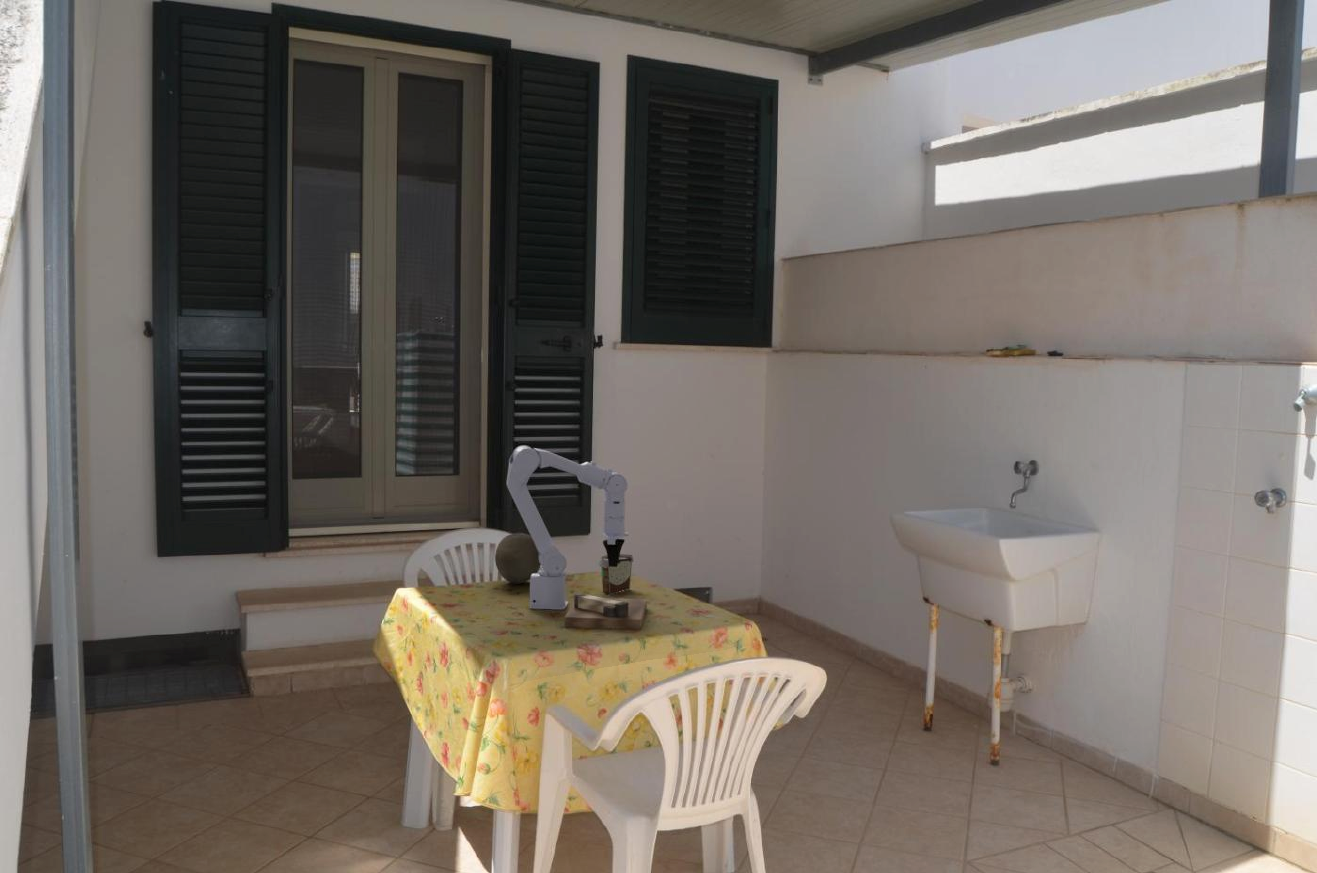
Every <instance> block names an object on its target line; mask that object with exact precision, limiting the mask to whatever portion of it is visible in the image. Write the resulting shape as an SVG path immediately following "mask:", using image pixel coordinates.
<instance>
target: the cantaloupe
mask: <svg viewBox="0 0 1317 873" xmlns="http://www.w3.org/2000/svg"><path fill="white" fill-rule="evenodd" d="M494 562H495V566H496V569H497V571H498V573H499V574H500V576H501V577H502V578H503V579H504V580H505V581H507V582H508V583H511V584H516V585H517V584H523V583H526V582H529V581H530V579H531V575H532V574H533V573H539V571H540V569H541V567H542V565H541V564H540V562H539V553H538V550H537V548H536V545H535V543H534V541H533V539H532V537H531V535H530V534H528V533H523V532H515V533H511V534H508V535H506V536H505V537H503V538H502V539H501V540H500V541H499V543H498V545H497V546H496V550H495V555H494Z"/></svg>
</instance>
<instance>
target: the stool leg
mask: <svg viewBox="0 0 1317 873" xmlns="http://www.w3.org/2000/svg"><path fill="white" fill-rule="evenodd" d="M573 596H574V598H573V602H574V607H577V608H582V609H586V610H591V611H595V612H599V613H603V606H610V607H615V608H616V611H615V617H619V618H620V617H624V616H628V603H627V602H620V601H615V600H610V599H606V598H607V597H599V596H596V595H591V594H586V593H575V594H574V595H573Z"/></svg>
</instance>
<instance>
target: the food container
mask: <svg viewBox="0 0 1317 873" xmlns="http://www.w3.org/2000/svg"><path fill="white" fill-rule="evenodd" d="M633 563H634V556H633V554H625V553H624V554H622V553H620V556H619V562H618V565H617V567H610V566H609V562H608V556H607V554H605V555H602V556H601V557H600V559H599V562H598V566H599V567H601V584H602V593H603V594H604V593H605V594H604V595H607V596H611V595H615V594H614V593H616V594H618V593H617V592H619V591H622V590H626V589H630V590H631V578H632V567H633Z"/></svg>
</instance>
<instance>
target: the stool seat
mask: <svg viewBox="0 0 1317 873" xmlns="http://www.w3.org/2000/svg"><path fill="white" fill-rule="evenodd" d="M605 598H606V599H610V600H615V601H620V602H627V603H628V616H624V617H620V618H619V617H615V611H616V608H615V607H610V606H603V613H599V612H595V611H591V610H586V609H582V608H577V607H574V601H573V602H572V603H571V605H570V607H569V609H568V611H567V612H566V614H565V616H564V628H581V629H583V628H585V629H586V628H587V629H609V628H612V629H613V630H615V629H614V628H616V630H619V629H618V628H622V629H621V630H639V629H642V625H643V623H644V618H645V614H646V612H647V609H648V608H647V607H648V606H647V604H648V603H647V602H648V601H647V600H648V599H646V598H619V597H618V598H617V597H611V598H610V597H605ZM642 622H643V623H642Z"/></svg>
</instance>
